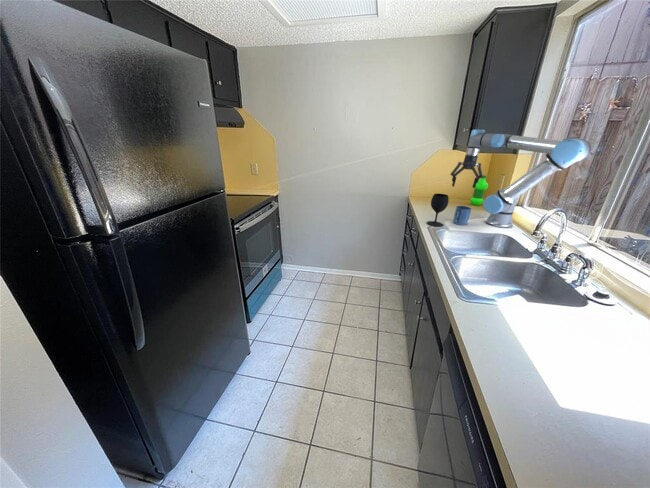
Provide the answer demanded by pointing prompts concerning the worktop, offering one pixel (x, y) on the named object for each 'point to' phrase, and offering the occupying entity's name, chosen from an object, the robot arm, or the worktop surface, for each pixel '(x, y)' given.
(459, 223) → the mug
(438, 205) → the wine glass
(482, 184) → the plastic bottle
